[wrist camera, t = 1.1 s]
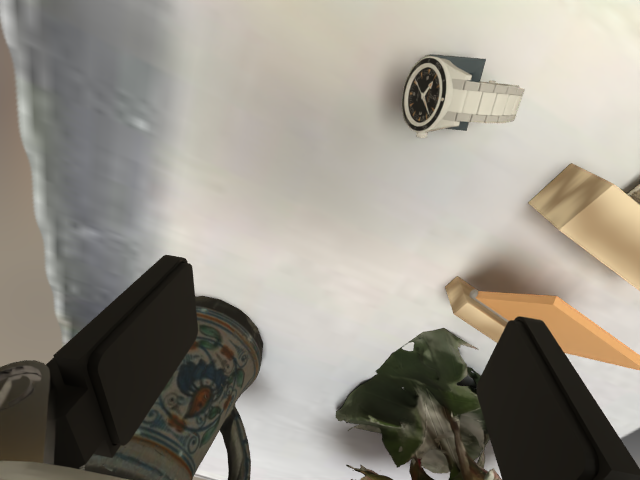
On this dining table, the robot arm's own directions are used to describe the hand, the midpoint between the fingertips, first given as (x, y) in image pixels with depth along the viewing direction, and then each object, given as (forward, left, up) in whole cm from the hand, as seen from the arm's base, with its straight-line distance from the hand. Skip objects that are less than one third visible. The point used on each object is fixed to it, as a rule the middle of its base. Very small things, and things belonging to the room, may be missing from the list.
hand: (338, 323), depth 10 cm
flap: (+2, +24, -20) cm, 31 cm away
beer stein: (+35, 0, -27) cm, 45 cm away
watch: (-8, +3, -27) cm, 29 cm away
